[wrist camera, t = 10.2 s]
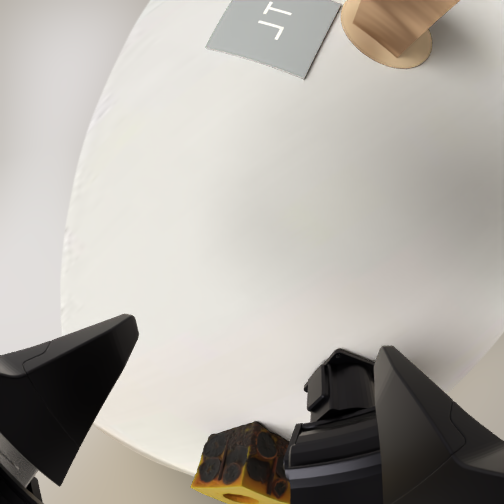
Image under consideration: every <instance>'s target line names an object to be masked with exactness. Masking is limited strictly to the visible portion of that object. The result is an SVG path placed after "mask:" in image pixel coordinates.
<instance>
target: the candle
mask: <svg viewBox="0 0 504 504" xmlns="http://www.w3.org/2000/svg"><path fill="white" fill-rule="evenodd" d="M288 445H289V442H288V441H286V440H284V439H283V438H281V437H280V436H278V435H276V434H273V433H270V432H269V431H268V430H266V429H265V428H264V427H263V426H262V425H260V424H259V423H257V422H253V423H250V424H247V425H243V426H240V427H237V428H233V429H230V430H227V431H224V432H221V433H218V434H212V435H210V436H209V437H208V441H207V442H206V444H205V445H204V448H203V452H202V455H201V460H200V463H199V466H198V469H197V473H196V475H195V478H194V480H193V482H192V485H191V488H193V489H195V490H196V491H199V492H201V493H203V494H205V495H207V496H210V497H212V498H215V499H217V500H220V501H222V502H225V503H228V504H290V483H289V481H288V479H287V477H286V474H285V470H284V469H283V464H284V462H283V459H284V456H285V453H286V451H287V448H288Z"/></svg>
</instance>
